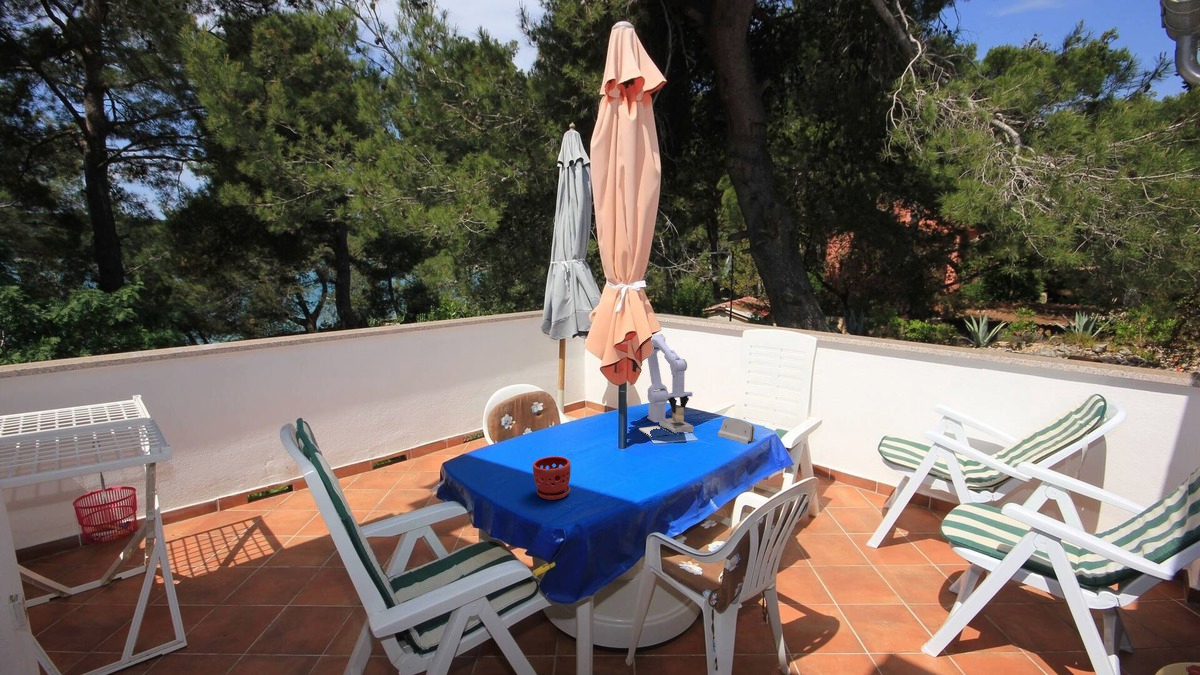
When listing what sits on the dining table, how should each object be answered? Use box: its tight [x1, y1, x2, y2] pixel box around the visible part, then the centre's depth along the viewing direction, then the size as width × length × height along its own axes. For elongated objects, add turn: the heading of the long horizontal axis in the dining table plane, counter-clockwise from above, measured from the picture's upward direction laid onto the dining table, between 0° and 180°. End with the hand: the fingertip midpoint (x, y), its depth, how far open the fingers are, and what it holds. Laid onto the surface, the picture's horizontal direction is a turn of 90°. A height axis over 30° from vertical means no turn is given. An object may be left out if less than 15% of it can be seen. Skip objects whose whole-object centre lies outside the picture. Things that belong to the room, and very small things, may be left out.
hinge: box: [717, 417, 756, 445], centre depth 253 cm, size 17×5×10 cm, turn 42°
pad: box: [638, 425, 661, 438], centre depth 263 cm, size 14×10×1 cm
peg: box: [671, 405, 685, 423], centre depth 265 cm, size 4×4×7 cm
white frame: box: [658, 417, 694, 433], centre depth 268 cm, size 16×10×3 cm, turn 21°
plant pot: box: [532, 455, 572, 501], centre depth 193 cm, size 13×13×12 cm
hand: (678, 412), depth 265 cm, fingers closed on peg, 4 cm apart
